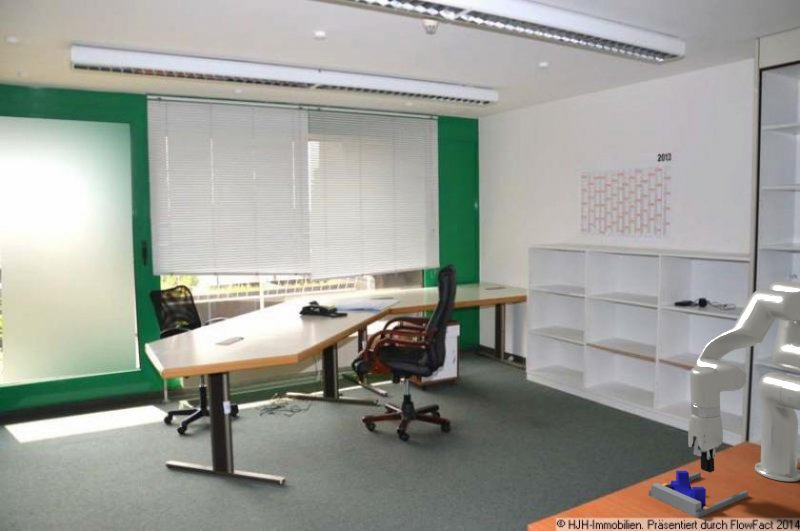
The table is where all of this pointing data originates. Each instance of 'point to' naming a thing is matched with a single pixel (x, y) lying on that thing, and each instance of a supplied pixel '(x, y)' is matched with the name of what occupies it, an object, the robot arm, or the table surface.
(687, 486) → the cable clip
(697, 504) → the u-shaped alignment fixture
